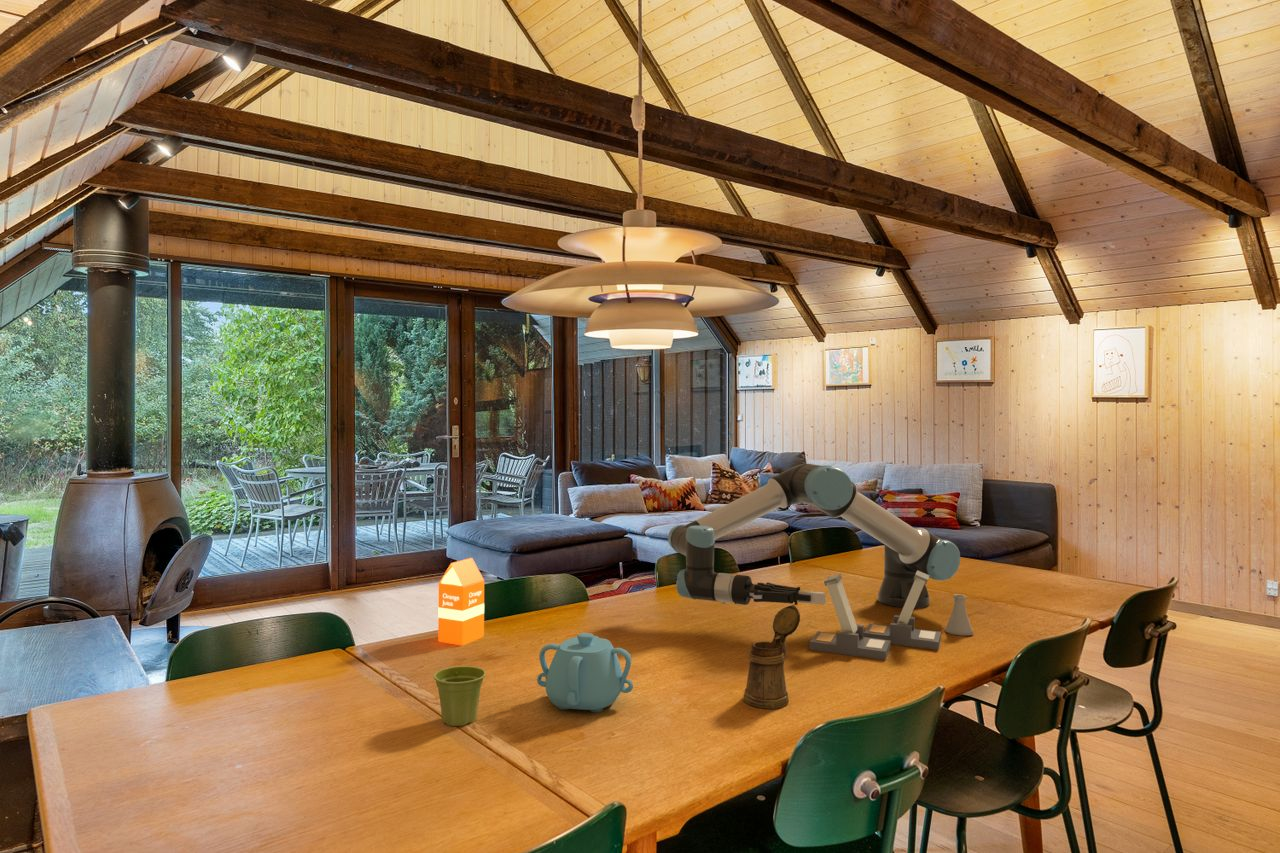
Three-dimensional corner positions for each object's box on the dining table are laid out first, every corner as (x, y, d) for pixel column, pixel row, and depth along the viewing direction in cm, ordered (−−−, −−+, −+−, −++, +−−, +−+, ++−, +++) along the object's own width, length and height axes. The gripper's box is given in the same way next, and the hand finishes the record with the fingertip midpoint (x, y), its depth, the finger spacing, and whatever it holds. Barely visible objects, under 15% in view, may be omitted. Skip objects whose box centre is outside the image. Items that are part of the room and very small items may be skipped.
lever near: (843, 640, 186) (823, 581, 188) (847, 634, 192) (828, 576, 194) (856, 637, 185) (836, 578, 187) (860, 631, 190) (840, 573, 192)
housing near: (809, 649, 188) (809, 629, 188) (817, 638, 197) (818, 619, 197) (885, 660, 180) (885, 639, 180) (890, 648, 189) (891, 628, 189)
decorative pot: (639, 710, 148) (641, 640, 148) (562, 724, 140) (563, 650, 140) (603, 683, 162) (605, 620, 162) (532, 695, 155) (533, 628, 155)
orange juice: (484, 636, 196) (485, 558, 195) (462, 645, 188) (463, 564, 187) (459, 632, 199) (460, 556, 199) (437, 641, 191) (437, 561, 191)
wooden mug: (811, 696, 156) (812, 608, 156) (769, 712, 147) (771, 619, 147) (776, 684, 163) (777, 600, 163) (734, 699, 154) (735, 610, 154)
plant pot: (438, 711, 146) (438, 665, 146) (488, 710, 147) (488, 665, 147) (428, 731, 137) (429, 682, 137) (482, 729, 138) (482, 682, 138)
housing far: (863, 640, 196) (863, 621, 196) (869, 630, 205) (869, 612, 205) (938, 650, 188) (938, 630, 188) (940, 639, 198) (941, 620, 198)
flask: (968, 629, 208) (969, 593, 208) (977, 637, 200) (978, 599, 200) (941, 628, 208) (941, 592, 208) (949, 636, 201) (949, 598, 201)
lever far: (893, 626, 195) (915, 574, 193) (896, 621, 200) (917, 570, 198) (905, 632, 194) (927, 579, 191) (908, 626, 199) (929, 575, 197)
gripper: (741, 597, 207) (829, 608, 197) (726, 608, 195) (819, 620, 185) (742, 570, 207) (830, 578, 197) (726, 579, 195) (819, 589, 185)
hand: (824, 598), depth 191 cm, fingers closed
